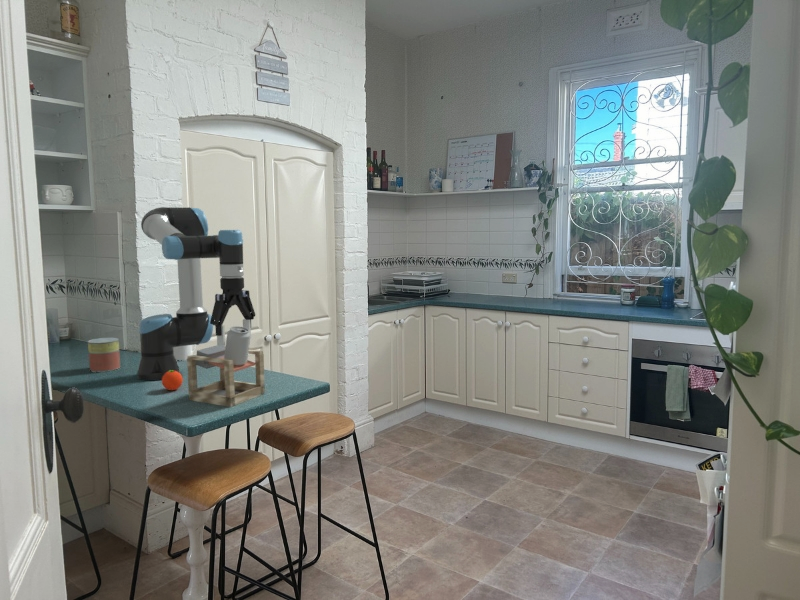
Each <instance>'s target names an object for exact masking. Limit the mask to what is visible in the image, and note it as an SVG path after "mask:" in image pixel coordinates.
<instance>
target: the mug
mask: <svg viewBox="0 0 800 600" xmlns="http://www.w3.org/2000/svg"><path fill="white" fill-rule="evenodd" d="M173 350H174V357H175V359H176V360H180V361H179V362H184V361H183V360H185V361H187V356H189V355H194V353H195V352H196V351H197V345H196V344H195V345H187V346H179V347H174V349H173ZM181 360H182V361H181Z"/></svg>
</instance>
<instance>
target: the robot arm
mask: <svg viewBox="0 0 800 600" xmlns="http://www.w3.org/2000/svg"><path fill="white" fill-rule="evenodd" d="M140 227H141V230H142V232H143V234H144V235H145V236H146V237H148V238H149V239H150V240H154V241H156V242H158V243H159V244H160V245H161V252H162V255H163V257H164V258H165V259H167V260H174V261H175V260H176V261H177V276H178V277H177V278H178V279H177V280H178V293H179V294H178V295H179V309H177V311H175V312H176V313H175V314H176V316H174V317H173V316H172V314H171V313H163V314H155V315H150V316H148V317H145V318H142V319H141V320H140V322H139V332H138V333H139V338H140V355H141V356H140V357H141V358H140V362H139V366H138V370H137V378H138V379H139V380H143V381H159V380H161V381H162V378H163V376H164V374H165V373H166V372H168V371H170V370H174V371H177V372H179V373H180V374H181V371H180V367H179V365H178V361H176V359H175V357H174V350H173V349H174V347H179V346H187V345H192V346H194V345H195V344H196V346H198V345H203V344H207V343H209V341H210V340H211V338H212V336H213V331H214V329H215V336H216V345H221V346H226V332H225V331H226V329H225V325H223V324H224V322H225V320H226V317H227V315H228V313H229V310H230V309H231V308H232V307H233V306H236V307H237V308H238V310H239V312H240V313H241V315H242V316H243V319H242V327H244V328H247V329H249V333H250V334H251V336H250V340H251V339H252V320H254V319H255V317H256V312H255V309H254V306H253V303H252V299H251V297H250V290H246V289H245V290H244V288H245V278H244V277H243V276H244V274H245V273H244V246H243V245H244V239H243V233H242V231H241V230H240V229H220V230H219V231H218V233H217V234H215V235H214V234H213V235H208V234H209V223H208V219H207V216H206V214H205V213H204V211H203V210H202V209H200V208H198V207H189V206H188V207H169V206H168V207H166V206H165V207H164V206H161V207H156V208H153V209H151V210H149V211H148V212H146V214H144V215H143V217H142V219H141V222H140ZM201 259H219V276H220V279H219V280H220V281H219V282H220V289H221V290H222V293H221V294H220V293H215V294H214V297H215V298H214V299H215V300H214V303H213V309H212V312H211V314H209V313H208V310H207V308H205V307H204V304H203V303H204V302H203V301H204V300H203V283H202V281H203V280H202V265H201ZM214 327H215V328H214Z"/></svg>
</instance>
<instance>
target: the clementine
mask: <svg viewBox="0 0 800 600" xmlns="http://www.w3.org/2000/svg"><path fill="white" fill-rule="evenodd" d="M179 372H180V371H179ZM179 372H177V371H174V370H170V371H168V372H166V373H165V374H164V376H163V378H162V379H161V385H162V386H163V388H164V389H166V390H169V391H176V390H178V389H180V387H181V386H182V385H183V382H184V379H183V378H184V377H183V375H182V374H181V372H180V373H179Z"/></svg>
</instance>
